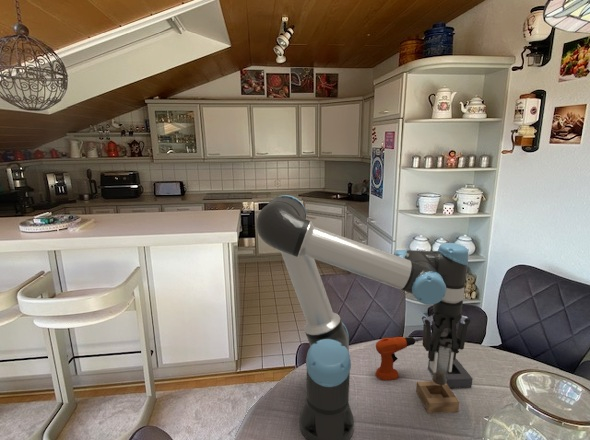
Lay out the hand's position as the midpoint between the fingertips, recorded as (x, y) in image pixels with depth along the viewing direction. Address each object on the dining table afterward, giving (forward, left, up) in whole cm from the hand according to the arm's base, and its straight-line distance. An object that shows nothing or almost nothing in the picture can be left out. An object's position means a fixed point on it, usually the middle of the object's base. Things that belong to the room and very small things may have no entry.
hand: (440, 369), depth 102 cm
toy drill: (-7, +13, -12) cm, 18 cm away
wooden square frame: (0, 0, -11) cm, 11 cm away
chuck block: (+9, +10, -11) cm, 18 cm away
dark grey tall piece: (0, 0, -4) cm, 4 cm away
